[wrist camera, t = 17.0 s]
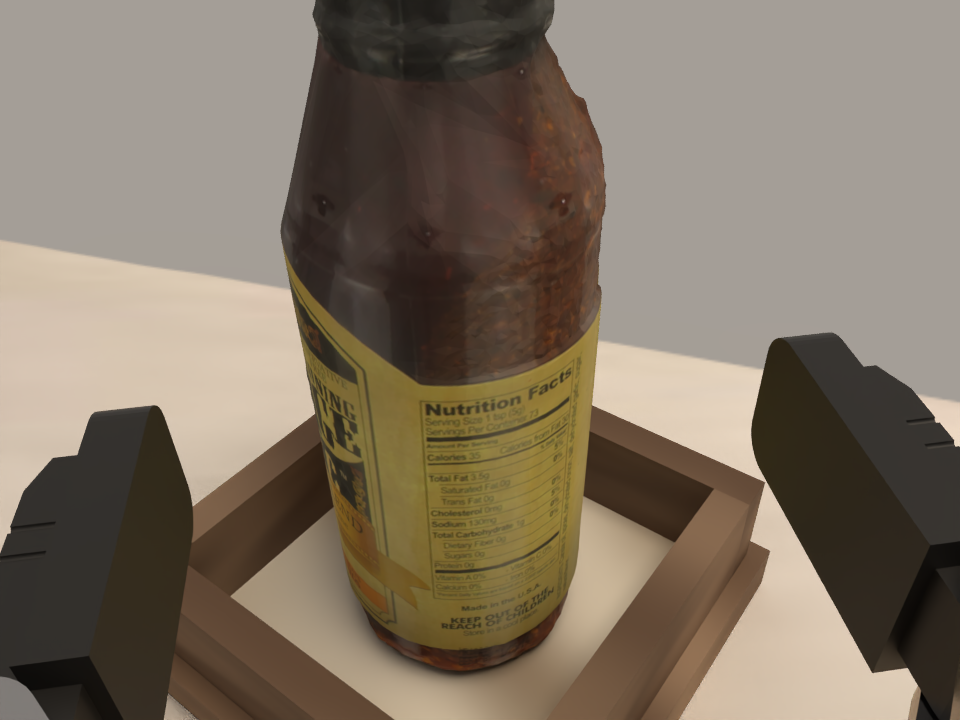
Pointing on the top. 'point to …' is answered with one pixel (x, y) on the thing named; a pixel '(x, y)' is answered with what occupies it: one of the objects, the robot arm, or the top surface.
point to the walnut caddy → (491, 690)
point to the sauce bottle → (449, 314)
